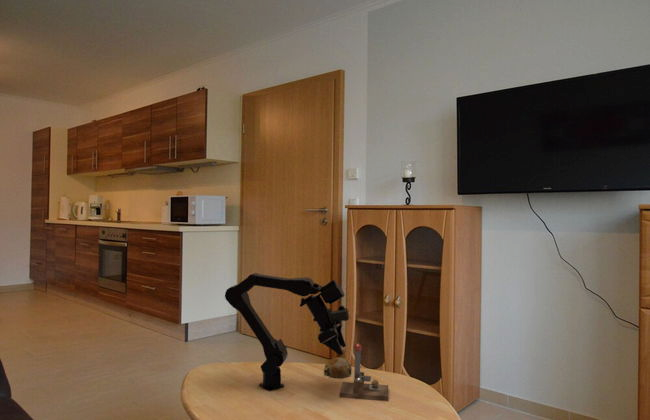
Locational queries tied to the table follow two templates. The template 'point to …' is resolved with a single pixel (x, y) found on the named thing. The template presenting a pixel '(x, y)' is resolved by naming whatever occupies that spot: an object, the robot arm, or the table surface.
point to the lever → (357, 365)
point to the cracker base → (364, 390)
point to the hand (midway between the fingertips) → (343, 350)
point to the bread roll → (338, 368)
